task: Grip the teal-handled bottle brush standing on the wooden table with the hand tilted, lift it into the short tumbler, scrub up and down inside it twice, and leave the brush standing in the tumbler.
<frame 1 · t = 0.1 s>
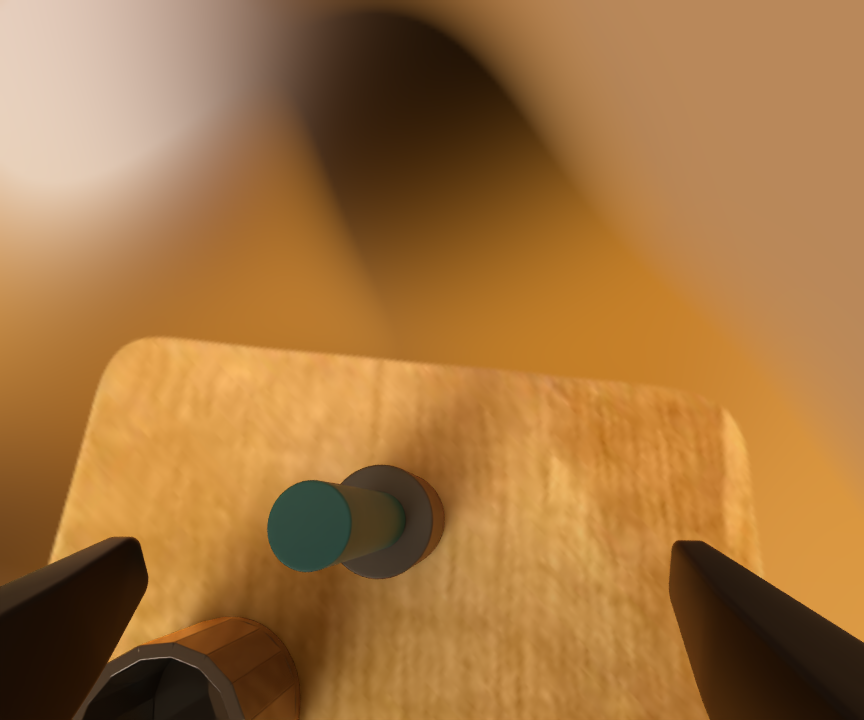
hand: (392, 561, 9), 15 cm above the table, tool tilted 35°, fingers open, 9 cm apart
tumbler: (225, 701, 22), on the table
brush: (400, 518, 23), on the table
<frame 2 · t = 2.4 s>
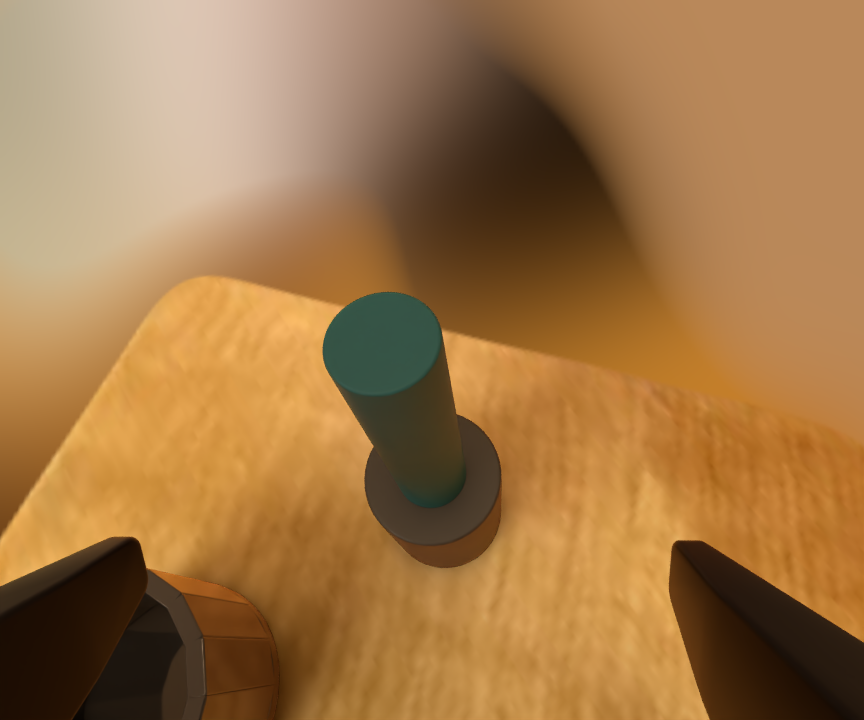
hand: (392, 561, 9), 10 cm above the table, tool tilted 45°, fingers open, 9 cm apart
tumbler: (181, 693, 17), on the table
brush: (445, 509, 19), on the table
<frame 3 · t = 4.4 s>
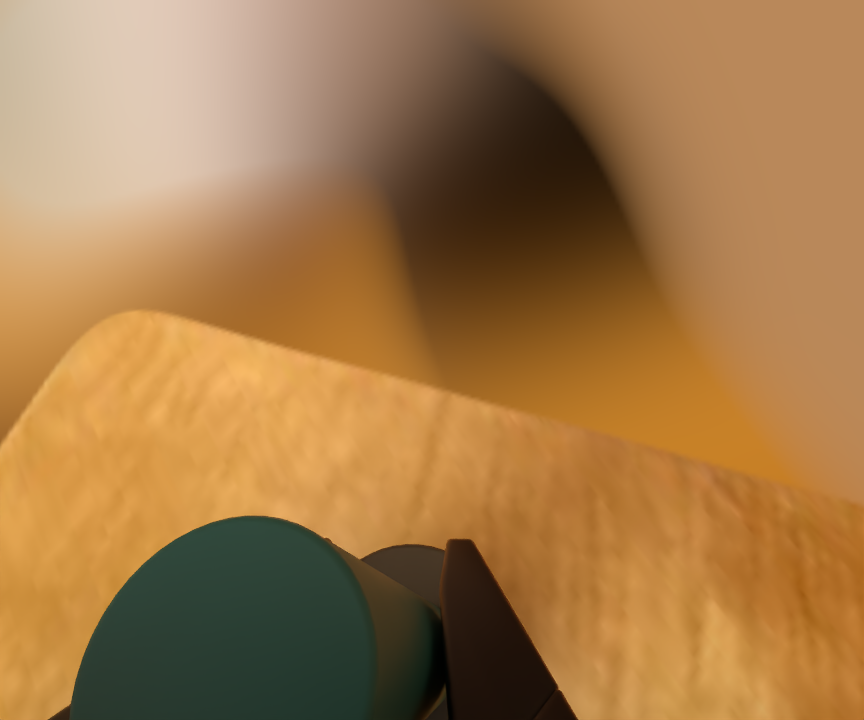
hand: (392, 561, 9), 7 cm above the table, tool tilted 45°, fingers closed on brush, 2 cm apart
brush: (433, 651, 14), on the table, touching gripper
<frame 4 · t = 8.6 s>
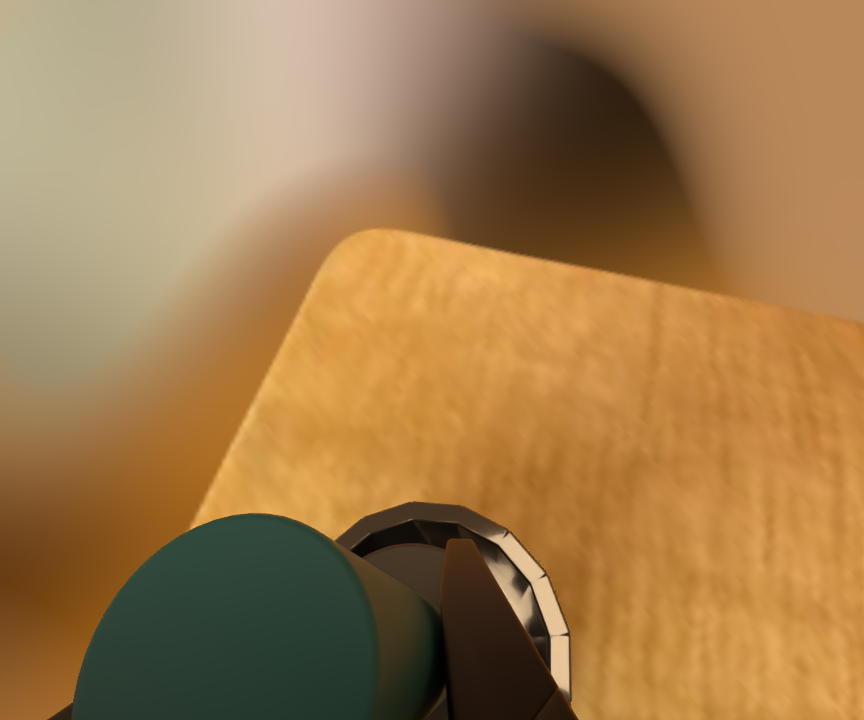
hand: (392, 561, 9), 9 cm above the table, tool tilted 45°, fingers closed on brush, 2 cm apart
tumbler: (442, 647, 16), on the table
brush: (433, 650, 14), point 3 cm above the table, touching gripper
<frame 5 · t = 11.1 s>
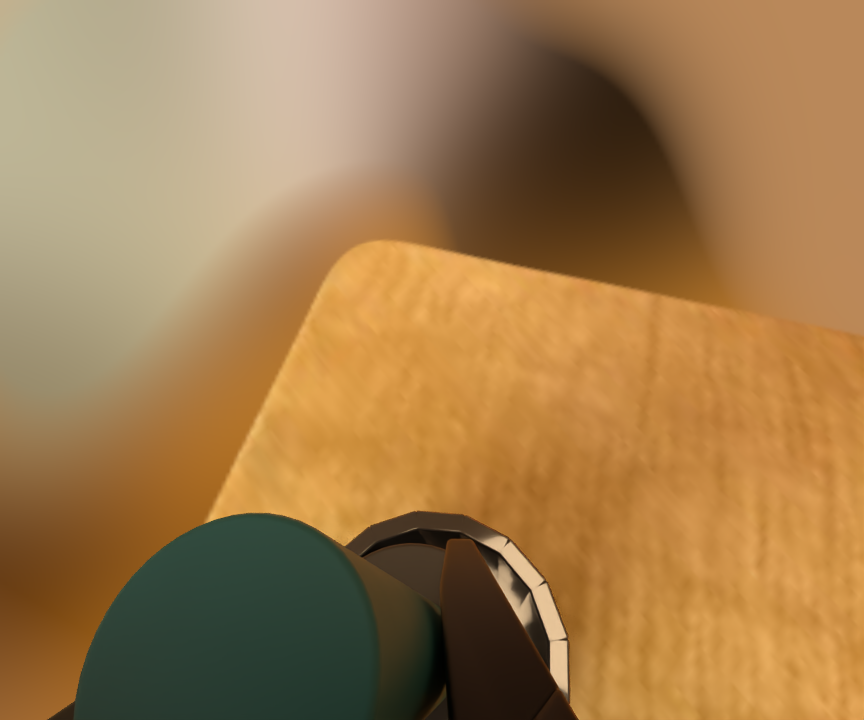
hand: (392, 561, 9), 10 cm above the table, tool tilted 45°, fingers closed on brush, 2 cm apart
tumbler: (445, 650, 17), on the table
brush: (433, 650, 14), point 3 cm above the table, touching gripper
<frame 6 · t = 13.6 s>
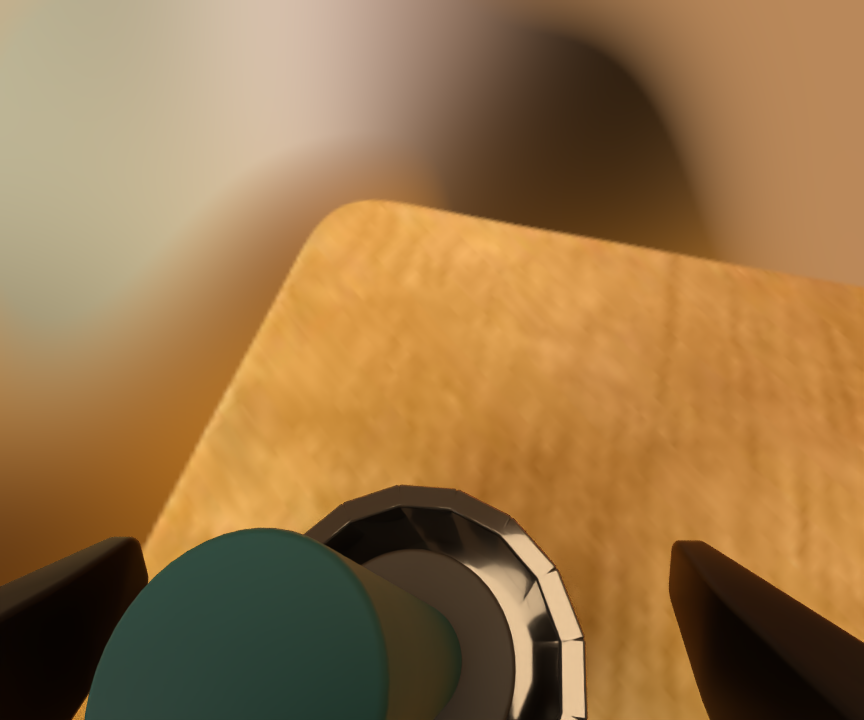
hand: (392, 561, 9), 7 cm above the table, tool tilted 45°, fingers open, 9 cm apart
tumbler: (436, 653, 14), on the table
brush: (434, 654, 14), point 1 cm above the table, touching tumbler
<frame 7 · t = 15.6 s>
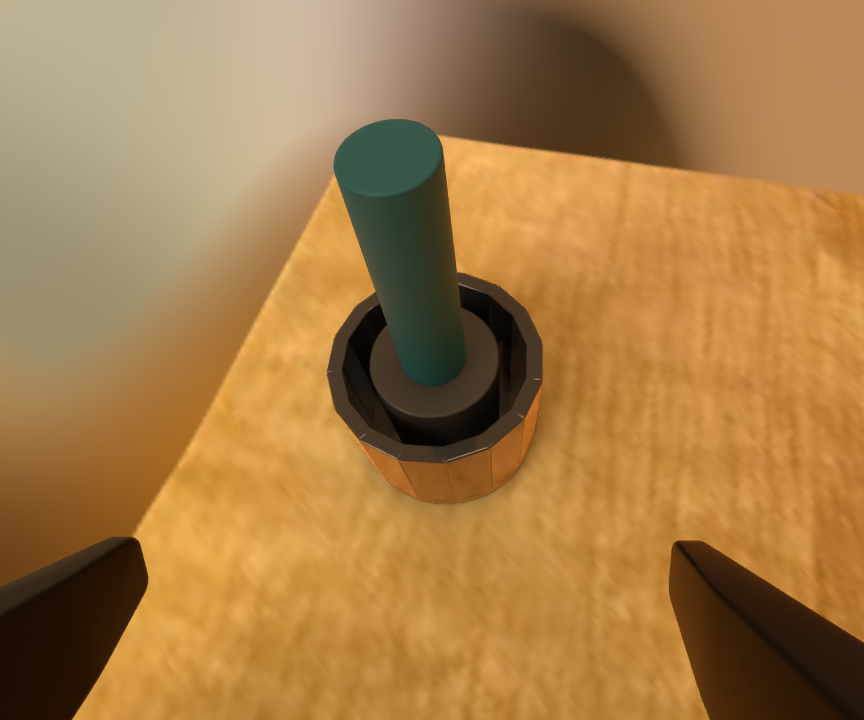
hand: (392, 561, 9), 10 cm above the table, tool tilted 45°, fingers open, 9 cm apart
tumbler: (447, 419, 20), on the table
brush: (446, 414, 20), point 1 cm above the table, touching tumbler
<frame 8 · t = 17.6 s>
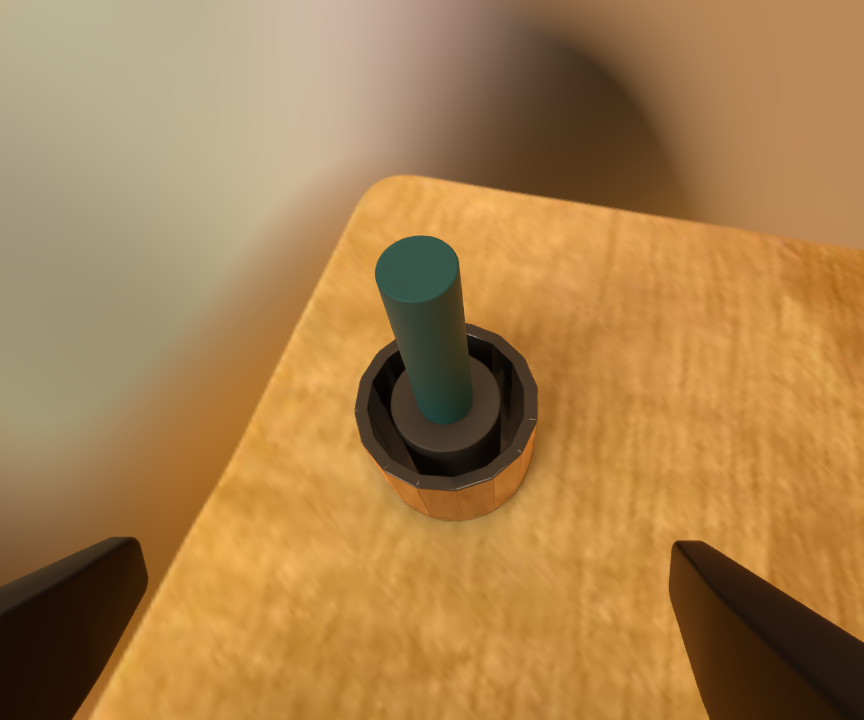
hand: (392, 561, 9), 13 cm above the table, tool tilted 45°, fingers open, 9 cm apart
tumbler: (455, 445, 23), on the table
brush: (454, 441, 23), point 1 cm above the table, touching tumbler
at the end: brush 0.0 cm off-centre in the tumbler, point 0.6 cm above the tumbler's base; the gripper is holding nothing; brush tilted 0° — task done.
